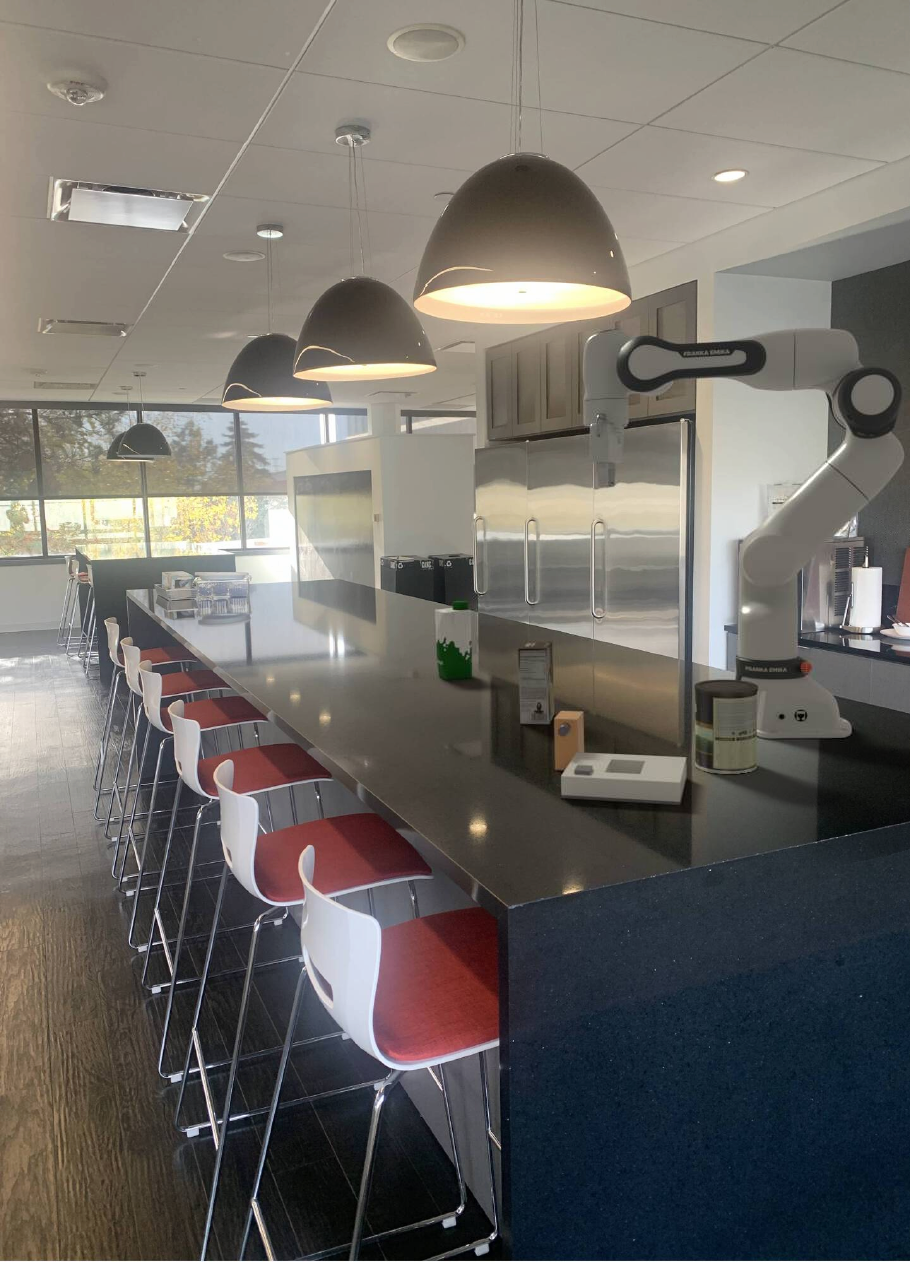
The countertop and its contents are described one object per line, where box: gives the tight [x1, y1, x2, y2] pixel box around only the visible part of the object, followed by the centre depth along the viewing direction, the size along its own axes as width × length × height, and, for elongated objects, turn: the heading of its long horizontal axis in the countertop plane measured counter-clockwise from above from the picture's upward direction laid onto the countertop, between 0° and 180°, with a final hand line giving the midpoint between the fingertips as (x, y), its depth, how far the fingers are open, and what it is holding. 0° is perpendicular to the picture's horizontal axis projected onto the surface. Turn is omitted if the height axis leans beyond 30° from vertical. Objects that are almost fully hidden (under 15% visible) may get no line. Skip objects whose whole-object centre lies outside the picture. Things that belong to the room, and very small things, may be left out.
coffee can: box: [694, 679, 758, 775], centre depth 160 cm, size 10×10×14 cm
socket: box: [560, 752, 687, 806], centre depth 151 cm, size 18×14×4 cm
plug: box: [553, 710, 585, 771], centre depth 162 cm, size 4×9×9 cm, turn 163°
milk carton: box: [434, 600, 473, 681], centre depth 249 cm, size 9×9×20 cm
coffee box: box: [517, 640, 555, 725], centre depth 198 cm, size 9×6×16 cm
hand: (606, 486), depth 188 cm, fingers open, 8 cm apart
